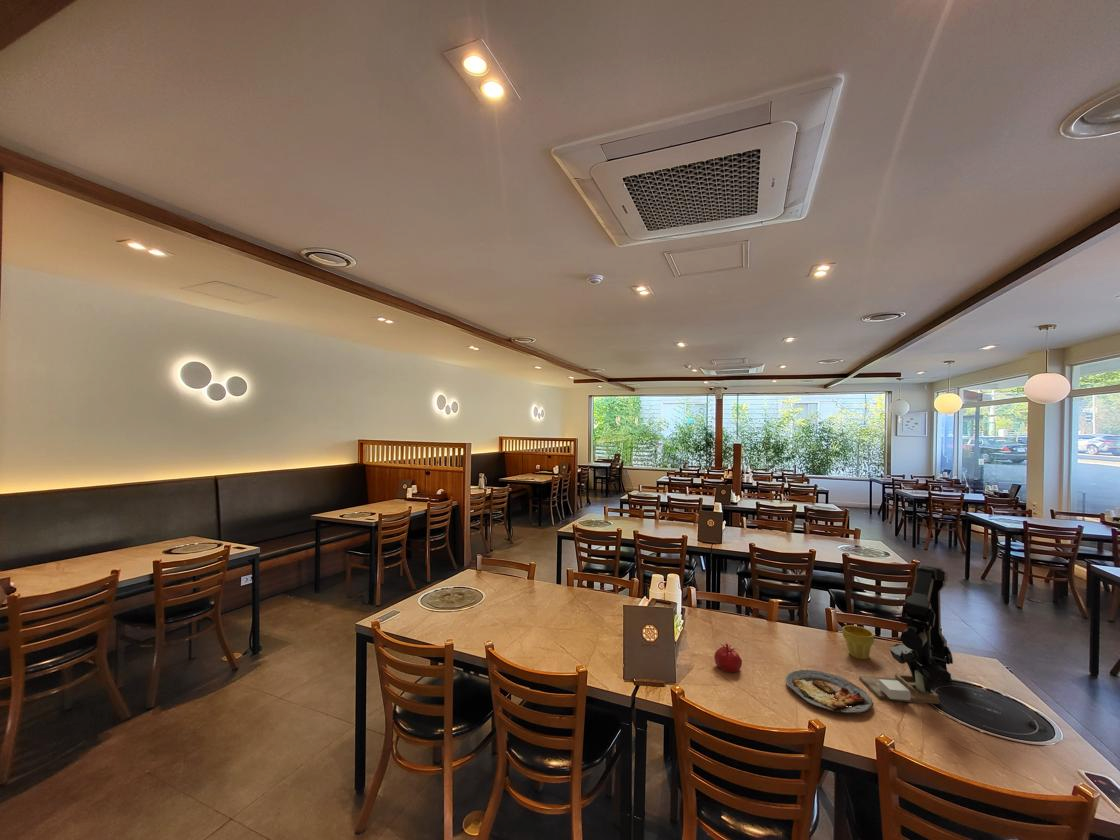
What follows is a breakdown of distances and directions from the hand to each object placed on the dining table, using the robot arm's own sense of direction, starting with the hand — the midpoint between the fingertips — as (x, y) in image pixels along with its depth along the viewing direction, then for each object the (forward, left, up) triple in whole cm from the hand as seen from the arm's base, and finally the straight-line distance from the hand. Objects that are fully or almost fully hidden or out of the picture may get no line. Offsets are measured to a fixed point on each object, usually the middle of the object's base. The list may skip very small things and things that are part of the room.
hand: (922, 687), depth 141 cm
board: (-3, -6, -4) cm, 8 cm away
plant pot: (-27, -6, -4) cm, 28 cm away
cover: (+2, -10, -2) cm, 10 cm away
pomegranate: (-10, -61, -4) cm, 61 cm away
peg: (0, 0, -2) cm, 2 cm away
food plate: (+3, -31, -4) cm, 31 cm away
